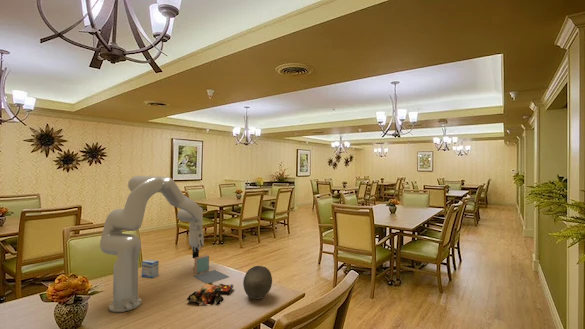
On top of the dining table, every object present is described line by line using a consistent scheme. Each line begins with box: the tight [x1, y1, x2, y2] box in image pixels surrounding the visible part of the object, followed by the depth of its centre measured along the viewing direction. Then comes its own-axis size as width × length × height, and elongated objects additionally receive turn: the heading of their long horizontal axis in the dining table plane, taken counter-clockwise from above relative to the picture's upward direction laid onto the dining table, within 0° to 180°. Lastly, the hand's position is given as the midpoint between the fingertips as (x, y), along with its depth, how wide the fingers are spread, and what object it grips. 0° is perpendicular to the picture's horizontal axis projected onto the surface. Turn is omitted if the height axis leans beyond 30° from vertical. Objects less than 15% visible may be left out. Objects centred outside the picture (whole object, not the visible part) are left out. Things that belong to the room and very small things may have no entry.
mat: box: [193, 269, 230, 284], centre depth 165 cm, size 15×14×1 cm
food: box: [186, 282, 234, 307], centre depth 141 cm, size 22×19×4 cm
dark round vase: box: [242, 265, 273, 300], centre depth 139 cm, size 14×14×15 cm
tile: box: [193, 254, 210, 275], centre depth 172 cm, size 3×8×9 cm, turn 137°
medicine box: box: [141, 259, 160, 279], centre depth 164 cm, size 8×4×9 cm, turn 73°
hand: (195, 257), depth 177 cm, fingers closed
